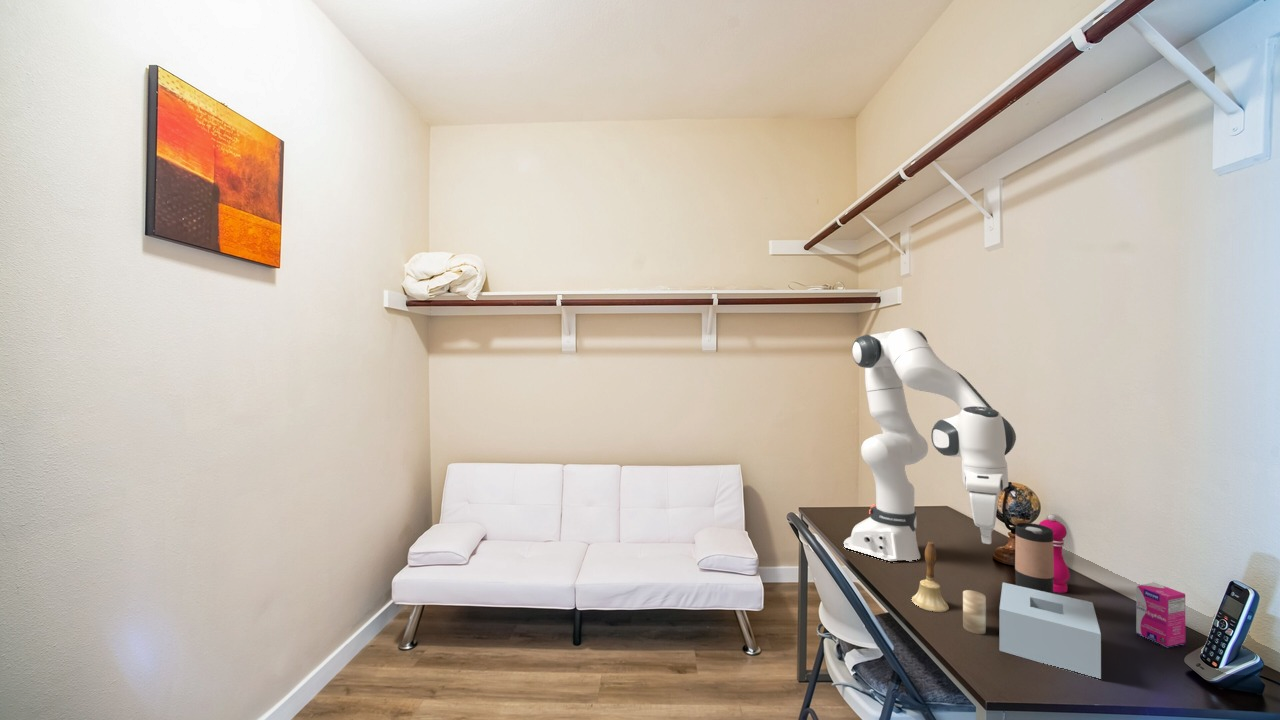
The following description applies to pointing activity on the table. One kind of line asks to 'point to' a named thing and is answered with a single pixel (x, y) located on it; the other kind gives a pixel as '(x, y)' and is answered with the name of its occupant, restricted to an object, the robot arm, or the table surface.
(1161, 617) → the supplement box
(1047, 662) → the socket block
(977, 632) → the peg
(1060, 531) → the pepper mill
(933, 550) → the hand bell
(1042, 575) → the travel mug
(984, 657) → the table surface
